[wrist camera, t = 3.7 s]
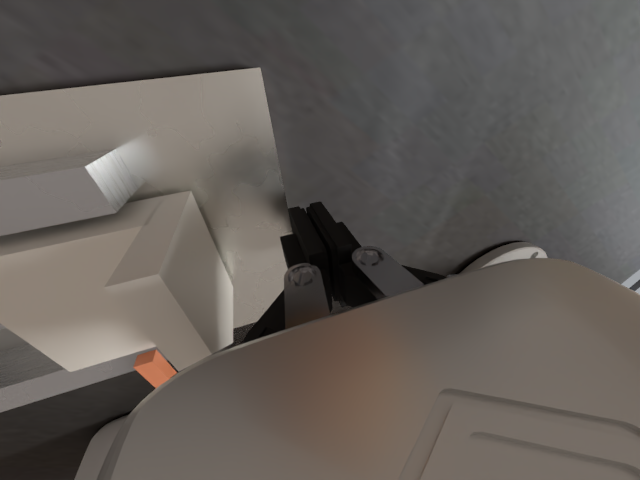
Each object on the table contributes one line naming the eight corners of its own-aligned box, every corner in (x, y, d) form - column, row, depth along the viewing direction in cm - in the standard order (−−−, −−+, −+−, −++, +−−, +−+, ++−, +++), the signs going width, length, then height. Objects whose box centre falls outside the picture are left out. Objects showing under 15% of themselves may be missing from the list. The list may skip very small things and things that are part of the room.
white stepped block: (191, 190, 10) (158, 273, 6) (251, 328, 16) (257, 422, 12) (-119, 250, 8) (-516, 440, 4) (75, 382, 14) (3, 520, 10)
